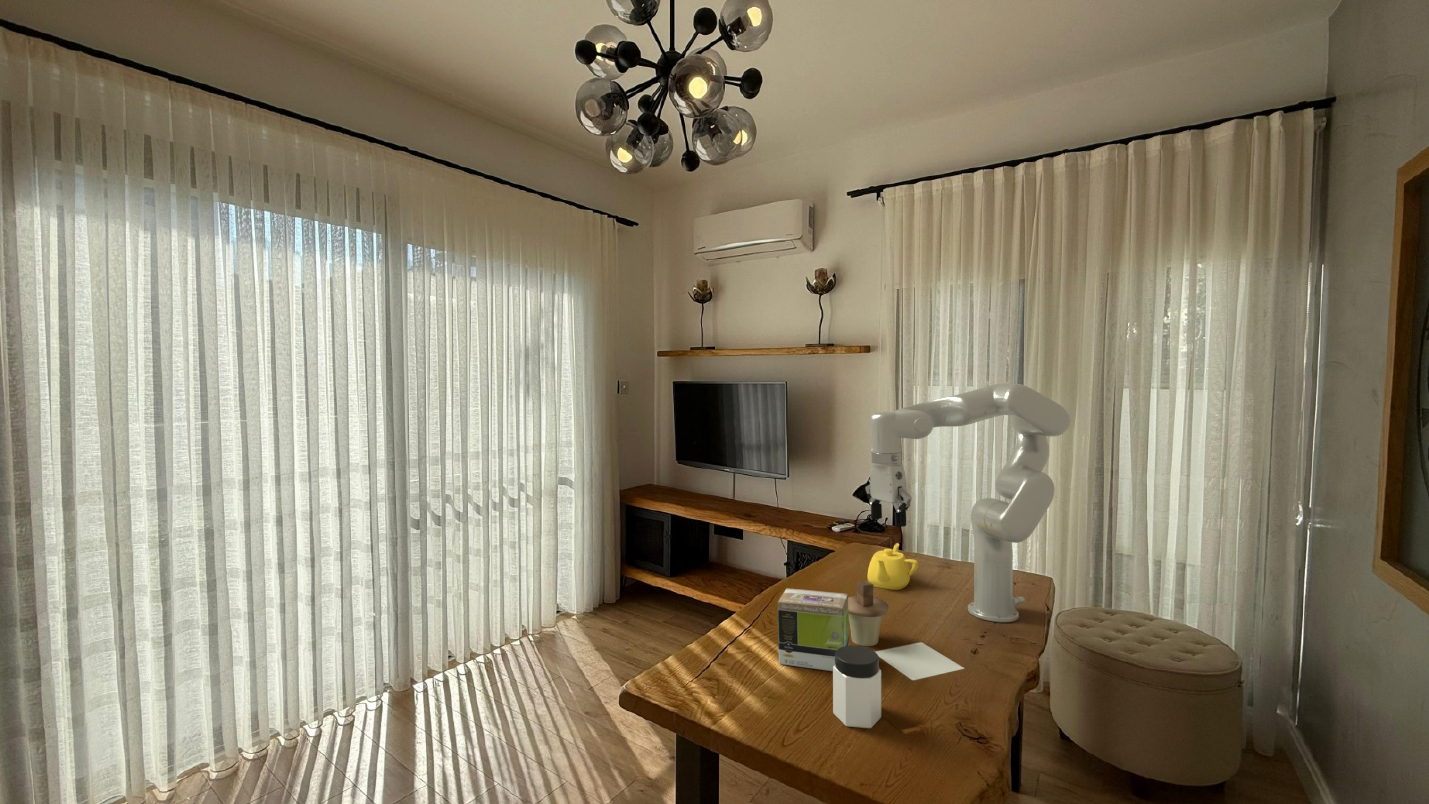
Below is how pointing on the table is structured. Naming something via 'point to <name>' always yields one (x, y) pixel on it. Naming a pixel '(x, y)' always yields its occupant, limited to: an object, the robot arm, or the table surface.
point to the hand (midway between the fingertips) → (888, 522)
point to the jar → (857, 686)
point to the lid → (866, 602)
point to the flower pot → (864, 629)
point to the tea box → (812, 627)
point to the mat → (918, 661)
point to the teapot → (890, 569)
